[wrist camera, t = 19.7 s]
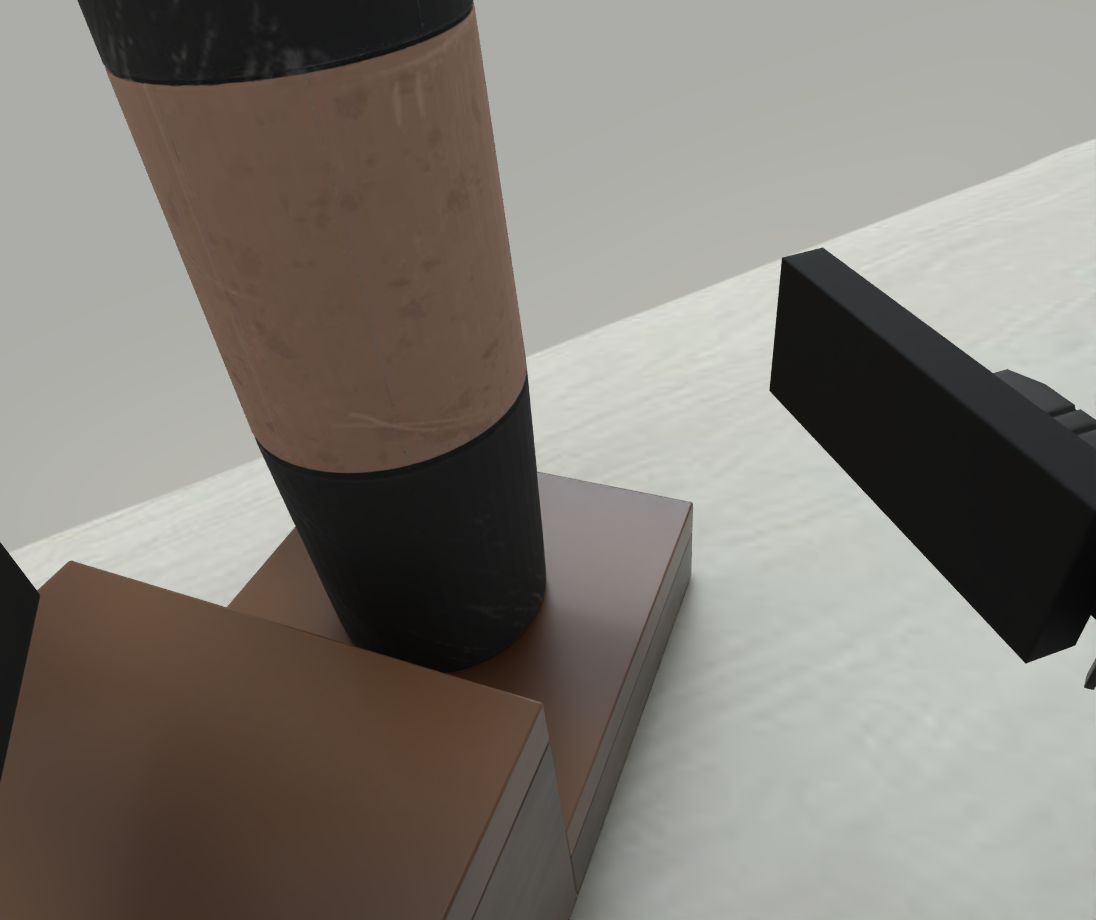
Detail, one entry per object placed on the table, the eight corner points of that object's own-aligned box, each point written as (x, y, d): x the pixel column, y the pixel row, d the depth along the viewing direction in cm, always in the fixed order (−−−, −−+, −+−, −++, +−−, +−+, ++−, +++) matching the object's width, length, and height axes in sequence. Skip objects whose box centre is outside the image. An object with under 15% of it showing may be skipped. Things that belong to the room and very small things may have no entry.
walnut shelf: (390, 505, 38) (333, 315, 31) (691, 574, 33) (696, 366, 27) (-12, 1037, 23) (-281, 882, 16) (433, 1305, 18) (301, 1235, 12)
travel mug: (300, 677, 26) (-61, -61, 13) (368, 508, 32) (163, -123, 19) (540, 689, 25) (400, -108, 12) (566, 511, 31) (491, -158, 18)
